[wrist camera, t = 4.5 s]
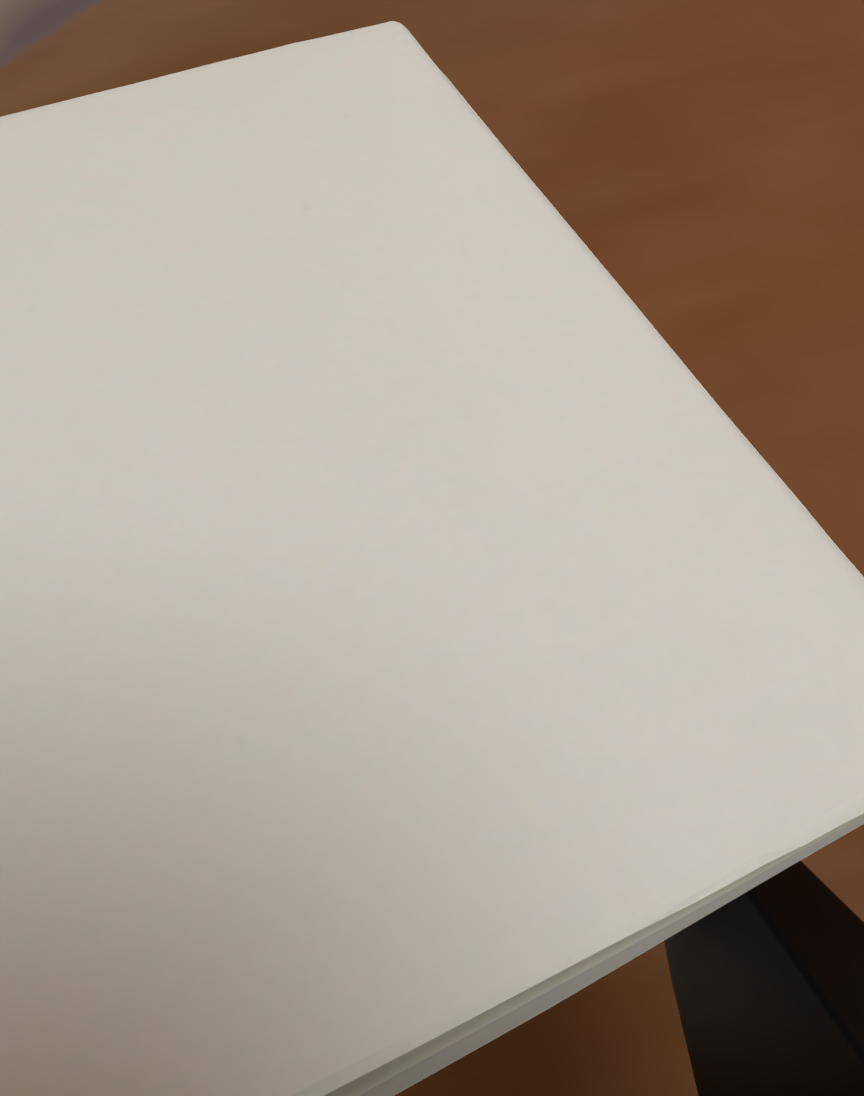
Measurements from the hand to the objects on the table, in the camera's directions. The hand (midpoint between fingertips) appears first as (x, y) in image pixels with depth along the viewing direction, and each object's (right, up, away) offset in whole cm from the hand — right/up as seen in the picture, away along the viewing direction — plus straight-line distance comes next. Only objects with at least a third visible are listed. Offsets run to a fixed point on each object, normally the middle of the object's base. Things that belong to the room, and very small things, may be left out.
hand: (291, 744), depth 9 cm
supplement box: (0, -3, +6) cm, 7 cm away
